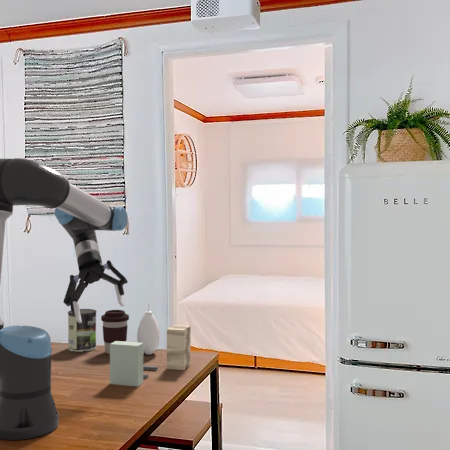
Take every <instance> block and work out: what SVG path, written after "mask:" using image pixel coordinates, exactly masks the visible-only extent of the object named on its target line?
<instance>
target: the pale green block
mask: <svg viewBox="0 0 450 450" xmlns="http://www.w3.org/2000/svg"><path fill="white" fill-rule="evenodd" d="M143 365H144V353H143V343H139V342H138V341H137V342H136V341H135V342H134V341H126V342H125V341H115V342H113V343H111V344H110V354H109V385H117V386H127V387H128V386H129V387H140V386H141V385H142V384H143V383H144V378H143V374H144V370H143Z"/></svg>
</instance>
